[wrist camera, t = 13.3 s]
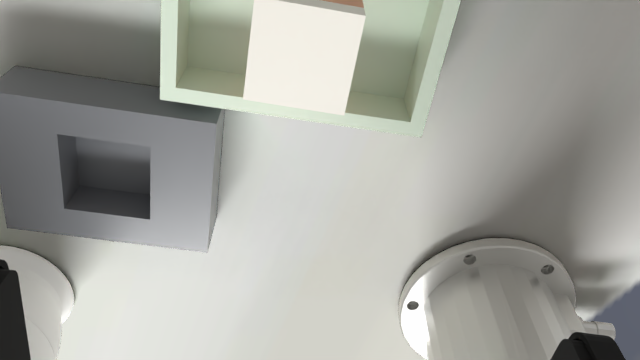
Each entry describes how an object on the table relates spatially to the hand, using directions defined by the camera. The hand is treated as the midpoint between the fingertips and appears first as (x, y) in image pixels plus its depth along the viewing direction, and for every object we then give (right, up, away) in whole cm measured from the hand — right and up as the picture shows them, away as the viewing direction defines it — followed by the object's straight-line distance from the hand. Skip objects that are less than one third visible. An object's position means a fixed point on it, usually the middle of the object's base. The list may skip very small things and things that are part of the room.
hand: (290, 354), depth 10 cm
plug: (0, +13, +20) cm, 24 cm away
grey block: (-12, +5, +26) cm, 28 cm away
